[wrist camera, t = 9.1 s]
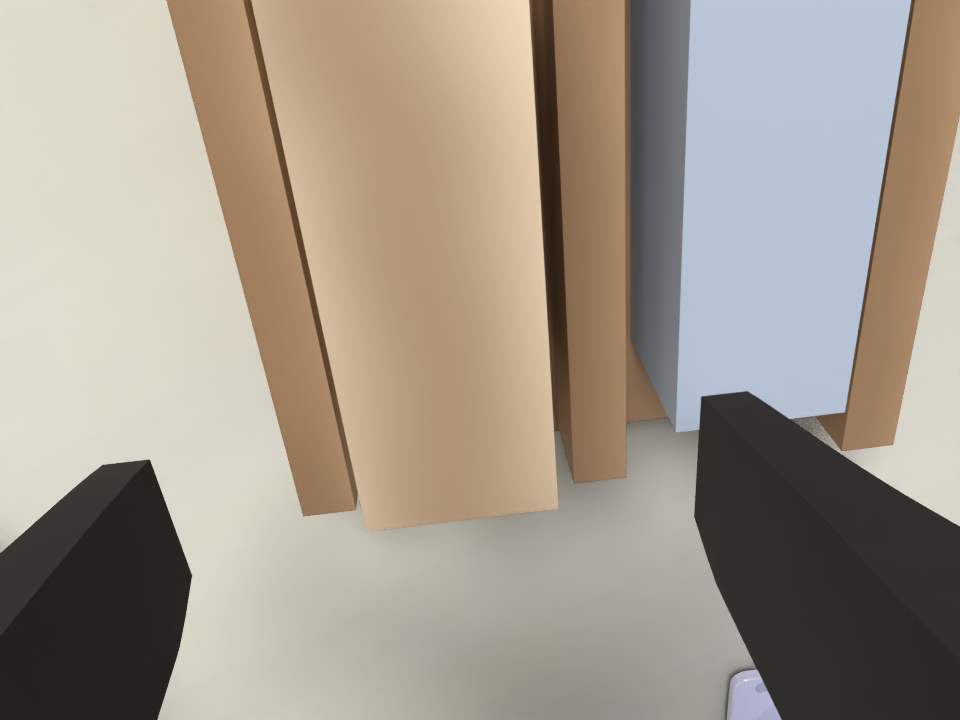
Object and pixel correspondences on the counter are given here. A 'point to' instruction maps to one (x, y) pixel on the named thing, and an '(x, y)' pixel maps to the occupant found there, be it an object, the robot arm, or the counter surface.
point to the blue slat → (756, 193)
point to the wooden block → (423, 245)
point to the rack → (557, 232)
